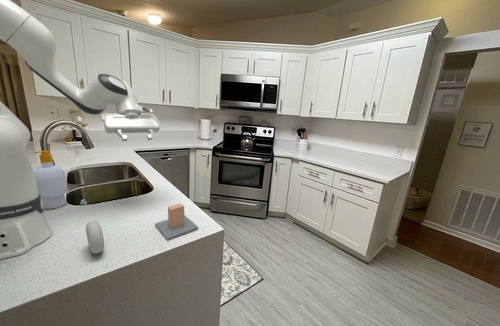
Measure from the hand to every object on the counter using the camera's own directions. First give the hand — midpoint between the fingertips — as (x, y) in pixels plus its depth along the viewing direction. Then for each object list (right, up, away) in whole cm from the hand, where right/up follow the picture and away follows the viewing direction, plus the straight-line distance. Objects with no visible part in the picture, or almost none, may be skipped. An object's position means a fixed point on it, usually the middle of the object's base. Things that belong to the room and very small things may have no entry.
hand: (138, 139), depth 84 cm
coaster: (+17, -34, -3) cm, 38 cm away
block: (+17, -33, -4) cm, 38 cm away
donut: (-3, -37, -19) cm, 42 cm away
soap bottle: (-40, -28, +7) cm, 49 cm away
